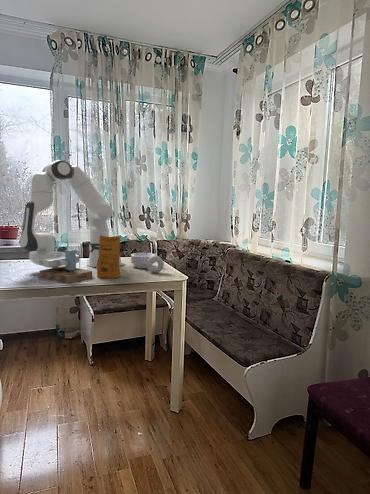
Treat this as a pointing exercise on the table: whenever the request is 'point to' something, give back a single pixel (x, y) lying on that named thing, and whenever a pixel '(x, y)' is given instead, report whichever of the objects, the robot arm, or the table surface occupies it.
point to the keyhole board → (65, 274)
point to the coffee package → (108, 257)
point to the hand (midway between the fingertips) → (71, 262)
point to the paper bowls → (141, 259)
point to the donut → (153, 259)
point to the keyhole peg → (70, 259)
